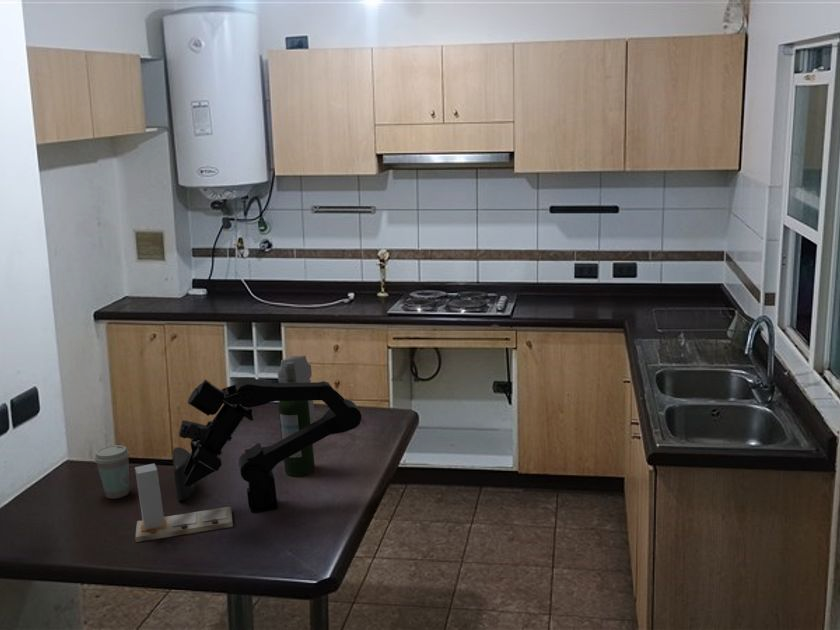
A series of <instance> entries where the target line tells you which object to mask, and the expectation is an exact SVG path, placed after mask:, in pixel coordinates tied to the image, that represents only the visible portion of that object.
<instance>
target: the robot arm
mask: <svg viewBox="0 0 840 630" xmlns="http://www.w3.org/2000/svg"><path fill="white" fill-rule="evenodd" d="M312 400H313V401H322V402H323V403H324V404H325V405H326V406H327V407H328V408H329V409H328V410H327V411H326V412H325V414H324V415H323V416H322V417H321V418H320V419H317V420H315V422H314V423H312V424H310V425H308V426H306V427H305V428H303V429H301V430H299V431H297V432H295V433H294V434H292V435H290V436H288V437H286V438H284V439H282V438H281V440H279V441H277V442H276V443H273V444H272V445H268V446H263V447H262V446H261V443H260V442H258V443H256V444H255V445H253V446H252V447H251V448H248V449H247V448H246V449H244V453H242V455H240V457H239V459H238V468H239V473H240V476H241V478H242V479H243V480H244V481H245V482H247V483H248V488H246V497H247V505H248V508H249V509H250V510H251V511H250V512H251V513H258V512H264V511H271V510H277V509H279V504H278V500H277V489H276V488H277V487H276V482H275V481H276V480H275V476H274V473H273V470H274V468H275V467H276V466H277V465H278V464H279V463H281V462H282V461H283V462H284V460H285V459H286V458H288V457H290V456H292V455H294V454H296V453H297V452H299V451H301V450H303V449H305V448H307V447H308V446H310V445H312V444H313V445H314V444H316V443H318V442H320V441H322V440H324V438H326V437H328V436H331V435H337V434H343V433H346V432H349V431H352V430H355V429H356V428H358V427H359V426H360V424H361V421H362V413H361V411H360V410H359V408H358V406H357V405H356V404H355V402H354V401H352V400H350V399H347V398H346V399H345V398H344V397H343V396H342V395H341V394H340V393H339V392H338V391H337V390H336V389H335V388H334V387H332V385H331V384H330V383H329V382H328V381H325V380H324V381H322V380H321V381H319V382H310V383H279V382H270V381H266V380H262V379H259V378H252V377H243V378H241V379H240V380H238V381H237V382H236V384H232V385H230V386H226V387H224V388H222V389H220V388H218V387H217V386H215V385H213V384H212V383H211V382H210V381H209V380H207V379H204V380H203V381H202V383H200V384H199V385H198V386H197V387H195V388H194V389H193V391H192V392H191V393H190V396H189V398H188V401H187V404H189V406H191V407H193V408H195V409H197V410H198V411H200V412H201V413H203V414H205V415H206V416H213V415H215V417H214V418H213V420H210V421H209V420H208V421H207V422H206V423H205V424H202V423H198V422H195V421H188V420H183V419H182V420H181V425H180V428H179V431H178V434H179V438H182V439H190V442H189V443H190V448H191V452H190V458H189V460H188V462H187V465H186V467H185V470H184V472H183V474H184V475H186V476H187V475H189V476H188V478H187V480H186V482H185V485H186V486H187V487H189V486H191V485H193V484H194V483H197V482H199V481H200V480H203V479H204V478H205V477H207V476H209V475H211V474H212V473H215V472H218V471H219V469H220V468H221V466H222V465H223V463H222V459H221V455H222V453H223V451H222V450H223V448H224V447H225V445H226V444H227V443H228V441H229V442H230V441H232V439H233V434H234V432H235V431H236V430H237V428H238V427H239V426H240V424H241V423H242V421H243V420H244V418H245V419H247V420H249V421H253V420H254V417H253V409H252V408H255V407H260V406H264V405H266V404H269V403H273V402H280V401H312Z"/></svg>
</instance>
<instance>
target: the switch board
mask: <svg viewBox="0 0 840 630" xmlns="http://www.w3.org/2000/svg"><path fill="white" fill-rule="evenodd" d="M164 522H165V526H161V527H157V528H152V529H148V530H145V528H144V525H143V521H142V520H137V521H136V529H135V537H134V538H135V542H136V543H139V542H145V541H151V540H157V539H165V538H170V537H171V538H172V537H176V536H181V535H189V534H196V533H200V532H208V531H214V530H220V529H226V528H233V527H234V524H233V513H232V506H226V507H219V508H211V509H206V510H200V511H193V512H187V513H181V514H174V515H169V516H164Z"/></svg>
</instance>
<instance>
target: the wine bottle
mask: <svg viewBox="0 0 840 630" xmlns="http://www.w3.org/2000/svg"><path fill="white" fill-rule="evenodd" d="M284 368H285V380H286V383H297V381H296V373H295V364H294V362H292V361H290V362H285V364H284ZM277 405H278V407H277V409H278V416H279V418H278V419H279V425H280V426H279V427H280V436H281V440H282V439H284V438H286V437H288V436H290V435H292V434H294V433H295V432H297V431H299V430H301V429H303V428H305V427H306V426H308V425H310V424H311V423H310V413H309V403H308V401H278V404H277ZM283 464H284V465H283V466H284V472H285V474H286V475H288V476H290V477H303V476H304V477H305V476H308V475H310V474H312V473H313V472H314V471H315V467H316V466H315V456H314V444H312V445H310V446H308V447H307V448H305V449H303V450H301V451H299V452H297V453H296V454H294V455H292V456H290V457H288V458H286V459H285V460H283Z"/></svg>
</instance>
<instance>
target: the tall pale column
mask: <svg viewBox="0 0 840 630" xmlns="http://www.w3.org/2000/svg"><path fill="white" fill-rule="evenodd" d="M290 361H292V362H294V364H295V373H296V381H297V383H311V381H312V380H311V377H312V364H310V363H308V360H307V356H306V355H294V356H290V357H287V358H284V359H281V360H280V368H279V370H278V371H277V380H278V383H286V380H285V368H284V364H285V362H290ZM308 403H309V413H310V423H311V424H312V423H314V422H316V417H315V406H314V400H312V401H308Z"/></svg>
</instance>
